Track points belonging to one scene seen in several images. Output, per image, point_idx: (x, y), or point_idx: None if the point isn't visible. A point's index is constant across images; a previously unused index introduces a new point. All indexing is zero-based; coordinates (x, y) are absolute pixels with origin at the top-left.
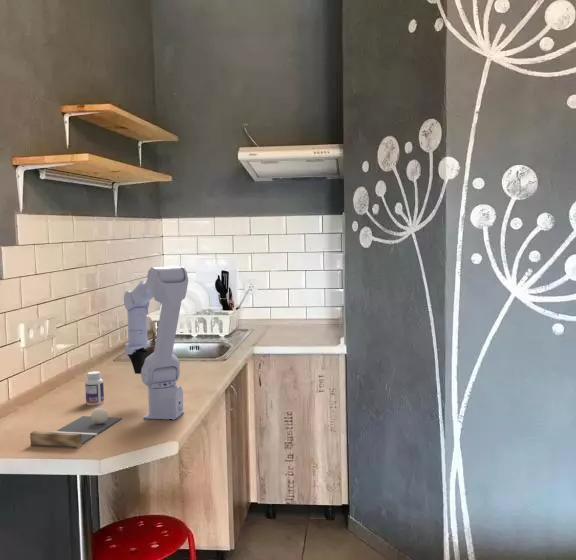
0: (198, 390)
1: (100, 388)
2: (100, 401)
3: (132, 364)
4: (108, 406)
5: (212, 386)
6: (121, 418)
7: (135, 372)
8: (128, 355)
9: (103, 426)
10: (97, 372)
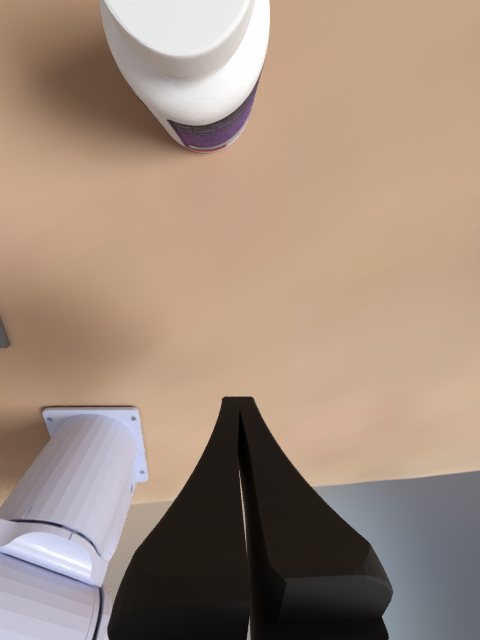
0: (405, 440)
1: (173, 127)
2: (182, 144)
3: (207, 445)
4: (162, 209)
5: (450, 458)
6: (5, 347)
7: (222, 405)
8: (143, 545)
9: None
10: (186, 7)
